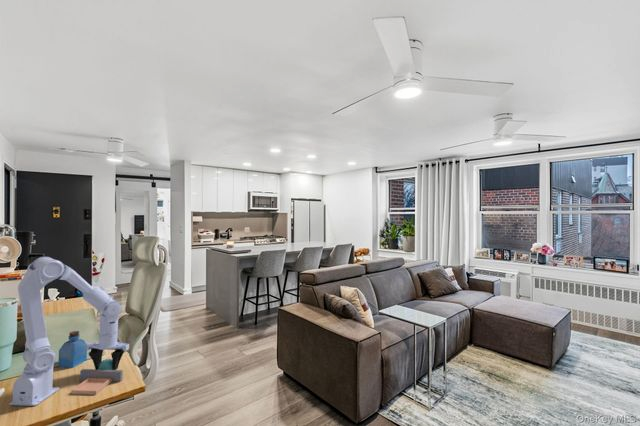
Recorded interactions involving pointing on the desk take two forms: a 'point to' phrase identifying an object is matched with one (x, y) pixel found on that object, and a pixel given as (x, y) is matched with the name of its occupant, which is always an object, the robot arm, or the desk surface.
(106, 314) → the robot arm
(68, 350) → the perfume bottle
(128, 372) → the desk surface
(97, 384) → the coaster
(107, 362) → the ball
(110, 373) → the wall
